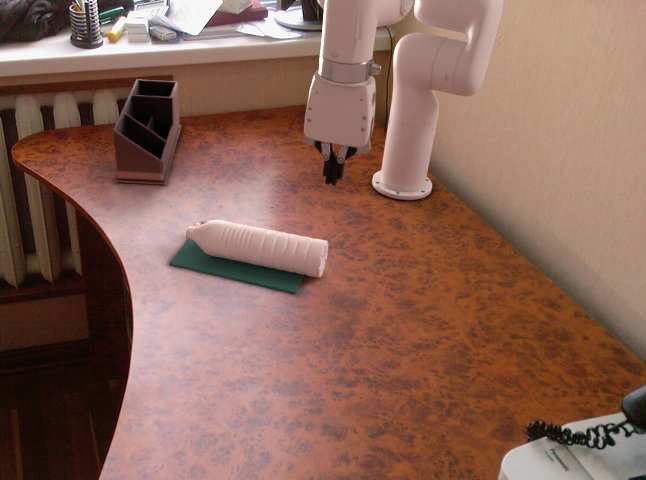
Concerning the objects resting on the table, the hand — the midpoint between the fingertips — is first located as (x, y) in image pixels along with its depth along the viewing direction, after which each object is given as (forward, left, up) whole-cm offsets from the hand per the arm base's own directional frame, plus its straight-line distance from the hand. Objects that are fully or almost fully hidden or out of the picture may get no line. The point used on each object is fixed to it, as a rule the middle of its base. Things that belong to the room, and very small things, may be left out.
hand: (332, 181), depth 118 cm
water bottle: (0, +1, -15) cm, 15 cm away
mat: (0, -14, -18) cm, 23 cm away
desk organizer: (-31, -48, -18) cm, 60 cm away
